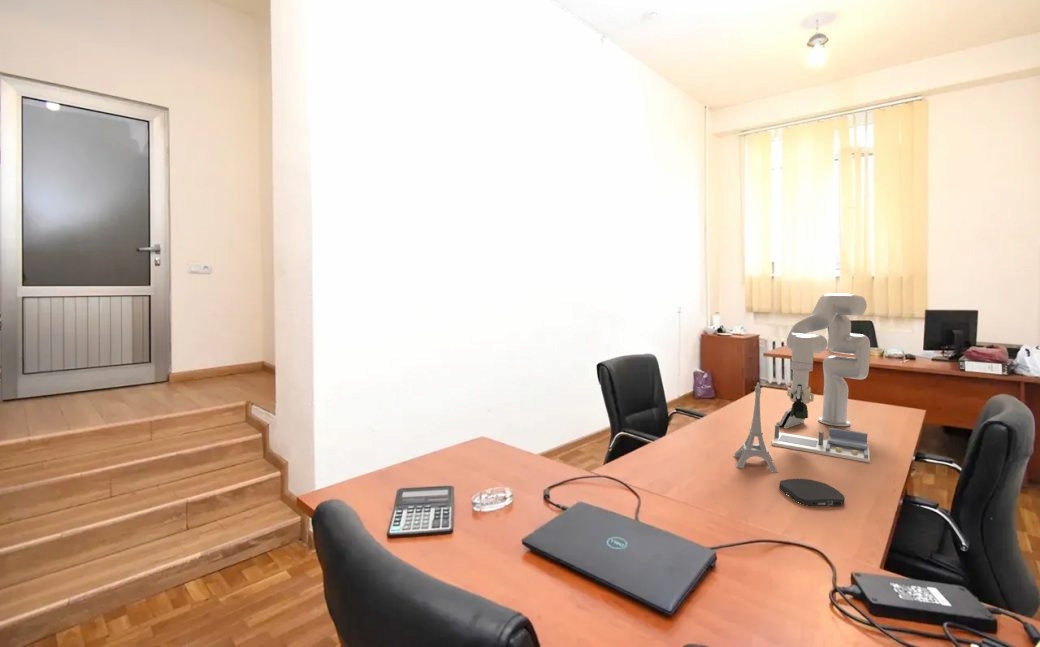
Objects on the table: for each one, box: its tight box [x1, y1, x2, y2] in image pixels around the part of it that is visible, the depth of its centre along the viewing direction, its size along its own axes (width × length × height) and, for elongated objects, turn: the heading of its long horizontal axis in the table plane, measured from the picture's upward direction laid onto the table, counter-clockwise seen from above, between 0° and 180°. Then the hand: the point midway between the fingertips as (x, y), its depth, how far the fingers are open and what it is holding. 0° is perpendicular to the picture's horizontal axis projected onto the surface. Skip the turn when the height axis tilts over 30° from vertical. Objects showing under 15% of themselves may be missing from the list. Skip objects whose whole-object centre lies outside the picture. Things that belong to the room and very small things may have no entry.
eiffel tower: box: [733, 382, 779, 473], centre depth 172 cm, size 13×13×30 cm
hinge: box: [775, 407, 806, 430], centre depth 220 cm, size 17×5×10 cm, turn 125°
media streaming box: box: [778, 478, 845, 507], centre depth 147 cm, size 15×15×3 cm
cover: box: [827, 427, 869, 449], centre depth 187 cm, size 8×12×4 cm, turn 54°
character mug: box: [787, 385, 815, 420], centre depth 193 cm, size 11×7×13 cm, turn 26°
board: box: [771, 424, 870, 463], centre depth 190 cm, size 16×32×6 cm, turn 54°
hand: (799, 409), depth 193 cm, fingers closed on character mug, 7 cm apart
